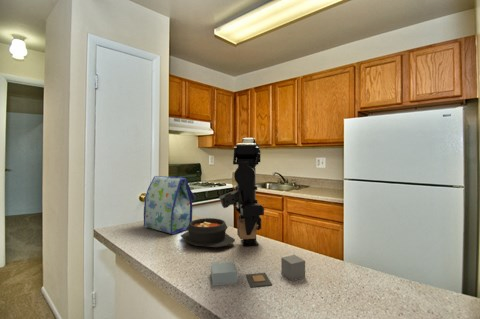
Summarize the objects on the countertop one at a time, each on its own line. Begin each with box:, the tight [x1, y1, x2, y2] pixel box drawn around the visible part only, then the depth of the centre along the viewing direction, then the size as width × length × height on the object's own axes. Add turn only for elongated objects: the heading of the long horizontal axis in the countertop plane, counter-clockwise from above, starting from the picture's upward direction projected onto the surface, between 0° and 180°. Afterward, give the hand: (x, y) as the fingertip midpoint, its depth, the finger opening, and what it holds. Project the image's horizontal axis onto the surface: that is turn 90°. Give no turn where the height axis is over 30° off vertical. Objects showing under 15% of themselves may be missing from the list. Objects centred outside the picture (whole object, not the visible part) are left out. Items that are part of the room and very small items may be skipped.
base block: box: [210, 260, 239, 286], centre depth 72 cm, size 7×7×4 cm
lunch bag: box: [143, 175, 196, 235], centre depth 123 cm, size 22×17×26 cm
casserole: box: [180, 217, 236, 248], centre depth 103 cm, size 25×19×8 cm
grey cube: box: [280, 254, 306, 282], centre depth 74 cm, size 5×5×5 cm
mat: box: [245, 272, 273, 288], centre depth 71 cm, size 7×6×1 cm
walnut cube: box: [236, 218, 257, 240], centre depth 77 cm, size 5×5×5 cm
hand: (246, 232), depth 77 cm, fingers closed on walnut cube, 5 cm apart
